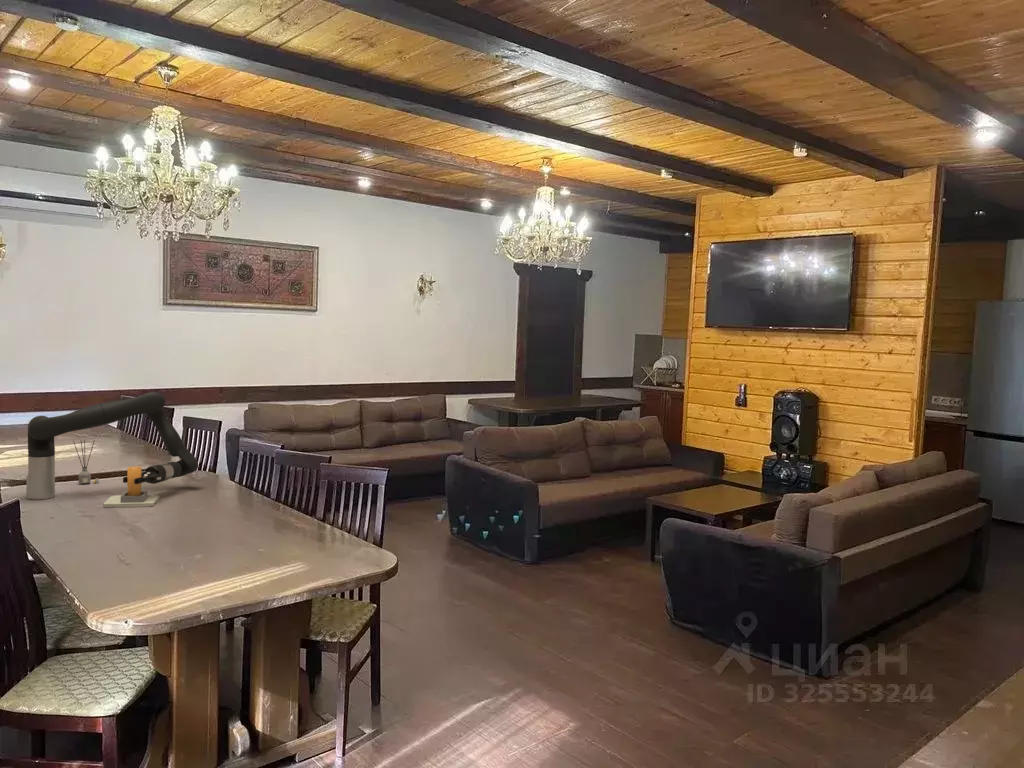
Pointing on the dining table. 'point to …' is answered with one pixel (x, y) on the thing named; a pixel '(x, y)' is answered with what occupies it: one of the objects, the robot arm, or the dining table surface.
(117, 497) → the cream slab
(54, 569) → the dining table surface
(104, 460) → the dining table surface
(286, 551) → the dining table surface
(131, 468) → the orange cylinder
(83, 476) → the reed diffuser
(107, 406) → the robot arm
